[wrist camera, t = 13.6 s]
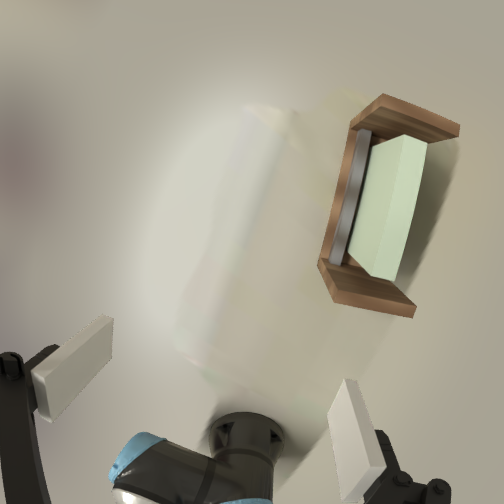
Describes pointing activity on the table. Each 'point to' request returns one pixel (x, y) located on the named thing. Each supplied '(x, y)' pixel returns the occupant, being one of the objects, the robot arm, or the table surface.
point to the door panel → (386, 205)
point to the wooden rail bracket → (347, 195)
